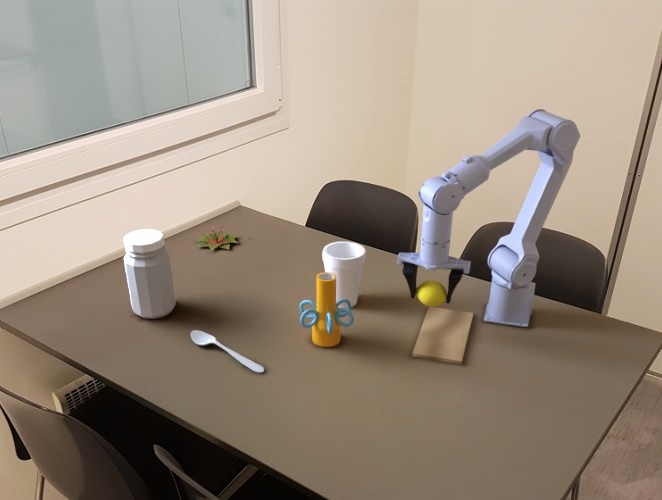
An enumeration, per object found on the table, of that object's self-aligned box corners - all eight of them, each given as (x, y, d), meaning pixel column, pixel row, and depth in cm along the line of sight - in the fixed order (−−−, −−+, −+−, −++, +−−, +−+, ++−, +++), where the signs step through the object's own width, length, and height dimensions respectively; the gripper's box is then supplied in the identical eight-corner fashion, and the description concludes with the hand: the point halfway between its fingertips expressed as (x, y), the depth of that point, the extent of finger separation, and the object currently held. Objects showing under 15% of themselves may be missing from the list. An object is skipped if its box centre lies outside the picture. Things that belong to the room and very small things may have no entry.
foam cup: (359, 313, 156) (361, 261, 149) (319, 309, 158) (319, 257, 151) (366, 293, 164) (368, 243, 157) (327, 290, 166) (327, 239, 159)
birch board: (473, 316, 155) (473, 312, 155) (461, 364, 139) (462, 361, 139) (428, 309, 158) (428, 306, 158) (412, 356, 142) (412, 353, 141)
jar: (123, 315, 156) (110, 241, 146) (148, 296, 163) (137, 224, 154) (160, 324, 153) (149, 249, 143) (184, 303, 160) (175, 231, 151)
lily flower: (189, 251, 184) (187, 235, 182) (203, 233, 194) (201, 217, 192) (233, 254, 182) (231, 238, 180) (244, 236, 192) (243, 220, 190)
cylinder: (362, 334, 149) (364, 271, 141) (343, 359, 141) (344, 294, 133) (311, 322, 153) (310, 260, 145) (289, 345, 145) (287, 281, 137)
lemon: (450, 303, 146) (453, 280, 143) (440, 314, 142) (442, 291, 139) (420, 295, 149) (422, 272, 146) (409, 305, 146) (411, 282, 143)
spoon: (200, 332, 150) (199, 326, 149) (270, 367, 138) (270, 360, 138) (185, 341, 147) (184, 334, 146) (255, 377, 136) (255, 370, 135)
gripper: (395, 242, 136) (392, 302, 144) (470, 251, 133) (462, 312, 140) (402, 228, 142) (399, 287, 149) (474, 236, 138) (467, 296, 146)
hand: (430, 298), depth 145 cm, fingers closed on lemon, 7 cm apart
